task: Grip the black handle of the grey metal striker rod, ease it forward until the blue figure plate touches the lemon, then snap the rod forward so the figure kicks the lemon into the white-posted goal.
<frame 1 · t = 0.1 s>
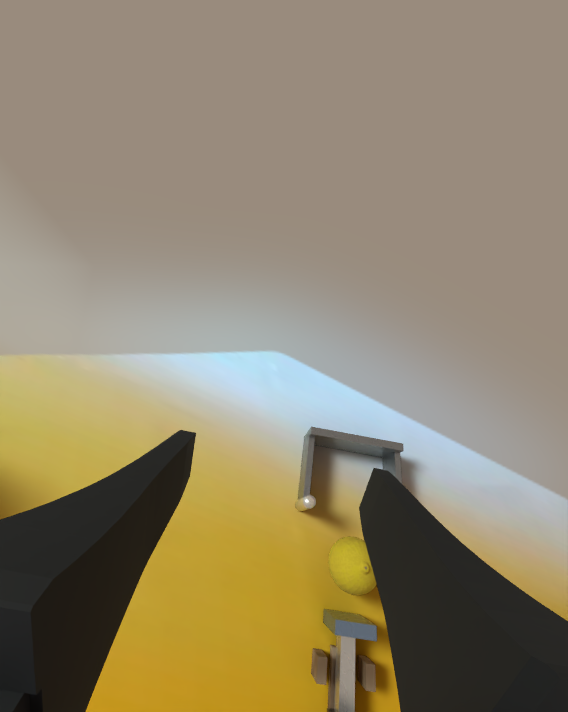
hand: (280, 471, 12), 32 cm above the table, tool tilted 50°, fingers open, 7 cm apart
track: (338, 704, 31), on the table
striker rod: (350, 689, 29), point 4 cm above the table, slide at 0.0 cm
lemon: (342, 561, 38), on the table
goal: (345, 478, 43), on the table
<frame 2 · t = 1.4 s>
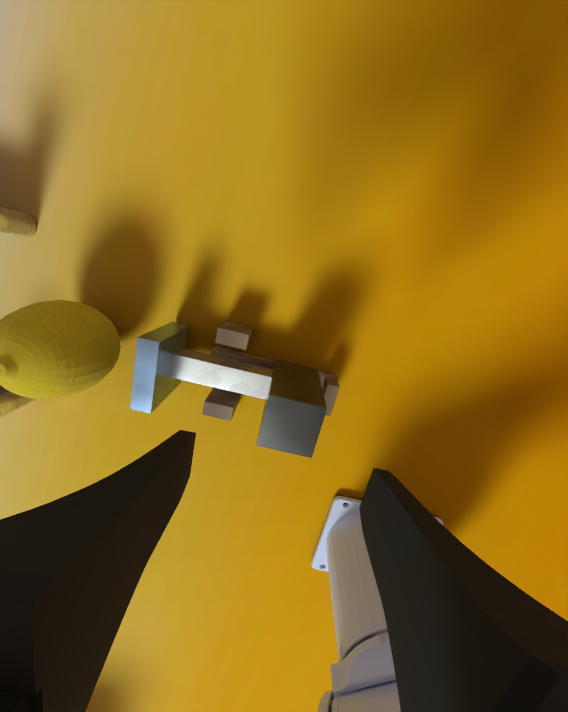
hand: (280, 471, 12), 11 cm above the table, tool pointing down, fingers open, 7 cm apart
track: (271, 373, 22), on the table
striker rod: (231, 385, 18), point 4 cm above the table, slide at 0.0 cm
lemon: (105, 333, 21), on the table
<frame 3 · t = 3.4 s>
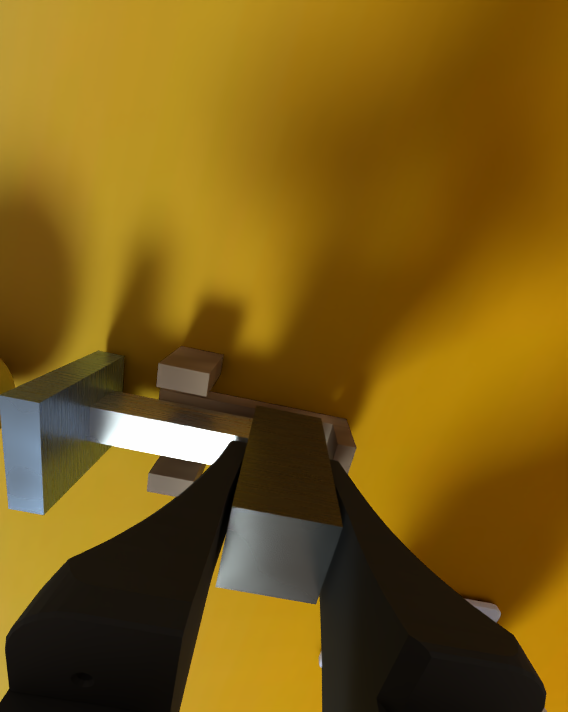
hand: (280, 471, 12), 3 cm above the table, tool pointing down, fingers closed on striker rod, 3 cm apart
track: (253, 420, 15), on the table
striker rod: (182, 457, 11), point 4 cm above the table, slide at 0.0 cm, touching gripper
lemon: (5, 368, 14), on the table
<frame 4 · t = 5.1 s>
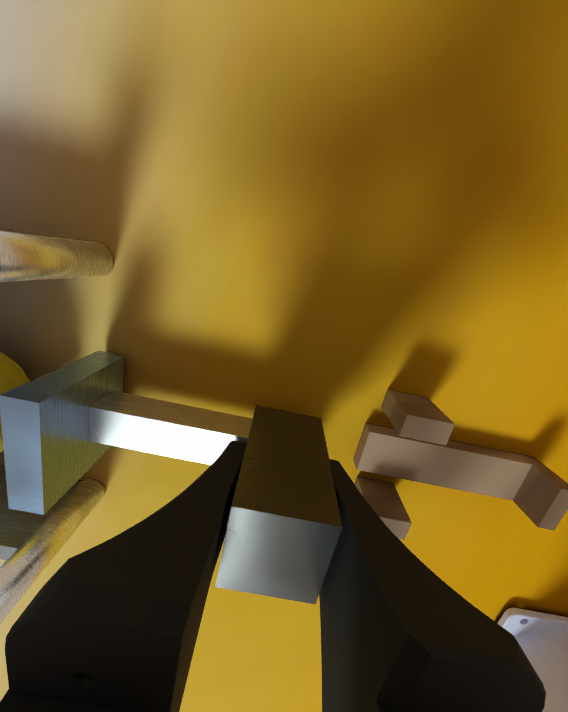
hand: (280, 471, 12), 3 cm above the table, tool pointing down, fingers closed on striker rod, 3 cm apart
track: (443, 458, 15), on the table
striker rod: (182, 457, 11), point 4 cm above the table, slide at 10.0 cm, touching gripper
lemon: (55, 399, 13), point 1 cm above the table, touching goal
goal: (1, 370, 14), on the table
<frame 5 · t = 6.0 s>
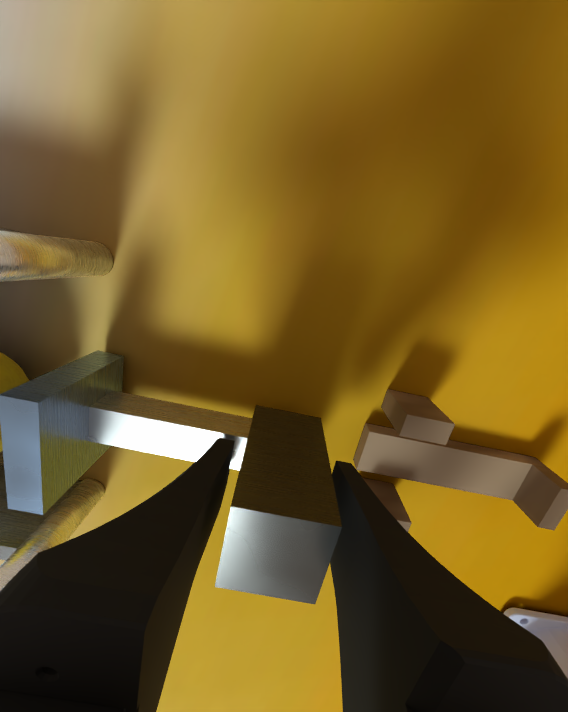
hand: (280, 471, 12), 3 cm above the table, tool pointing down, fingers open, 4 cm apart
track: (443, 458, 15), on the table
striker rod: (181, 457, 11), point 4 cm above the table, slide at 10.0 cm
lemon: (54, 399, 13), point 1 cm above the table, touching goal
goal: (1, 369, 14), on the table
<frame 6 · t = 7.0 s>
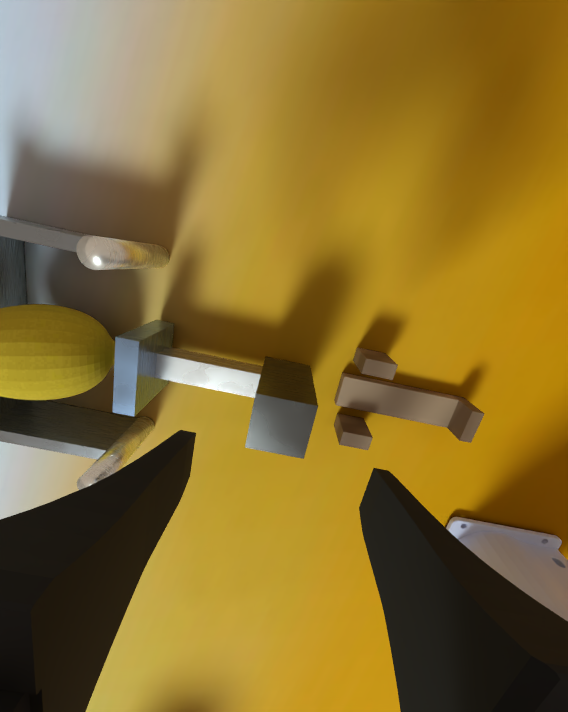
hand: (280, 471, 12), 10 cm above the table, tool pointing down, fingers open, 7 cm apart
track: (398, 398, 21), on the table
striker rod: (219, 385, 17), point 4 cm above the table, slide at 10.0 cm
lemon: (128, 352, 19), point 1 cm above the table, touching goal
goal: (86, 334, 20), on the table
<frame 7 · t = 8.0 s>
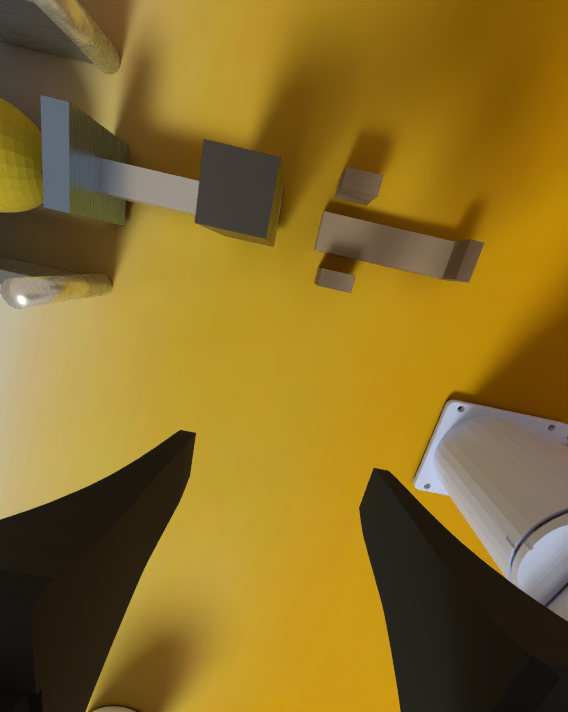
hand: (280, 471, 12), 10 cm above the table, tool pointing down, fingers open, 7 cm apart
track: (386, 247, 19), on the table
striker rod: (173, 189, 15), point 4 cm above the table, slide at 10.0 cm
lemon: (74, 174, 17), point 1 cm above the table, touching goal
goal: (29, 165, 18), on the table
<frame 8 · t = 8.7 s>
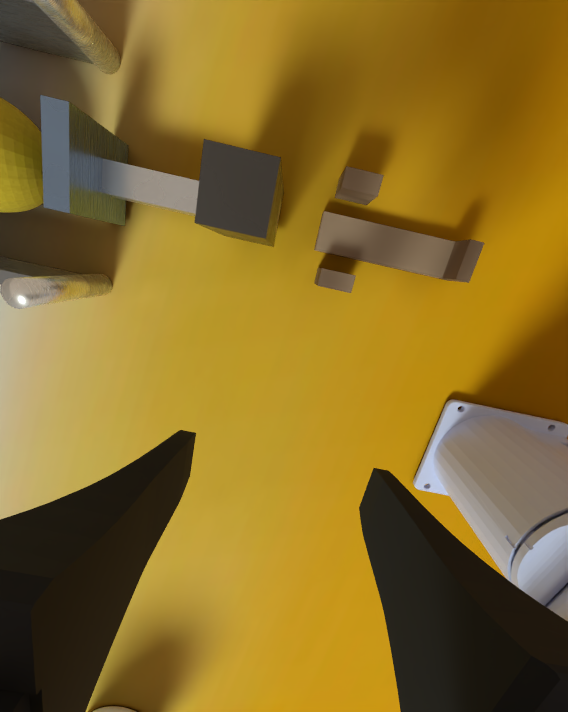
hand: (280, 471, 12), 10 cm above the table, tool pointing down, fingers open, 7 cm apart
track: (386, 247, 19), on the table
striker rod: (173, 189, 15), point 4 cm above the table, slide at 10.0 cm
lemon: (74, 174, 17), point 1 cm above the table, touching goal
goal: (29, 165, 18), on the table
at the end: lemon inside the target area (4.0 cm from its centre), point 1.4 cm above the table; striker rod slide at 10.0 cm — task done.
